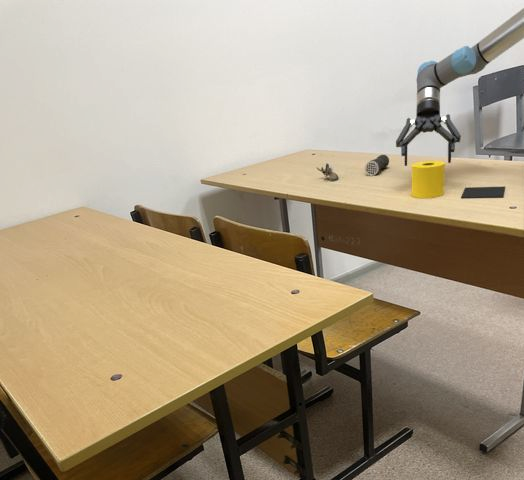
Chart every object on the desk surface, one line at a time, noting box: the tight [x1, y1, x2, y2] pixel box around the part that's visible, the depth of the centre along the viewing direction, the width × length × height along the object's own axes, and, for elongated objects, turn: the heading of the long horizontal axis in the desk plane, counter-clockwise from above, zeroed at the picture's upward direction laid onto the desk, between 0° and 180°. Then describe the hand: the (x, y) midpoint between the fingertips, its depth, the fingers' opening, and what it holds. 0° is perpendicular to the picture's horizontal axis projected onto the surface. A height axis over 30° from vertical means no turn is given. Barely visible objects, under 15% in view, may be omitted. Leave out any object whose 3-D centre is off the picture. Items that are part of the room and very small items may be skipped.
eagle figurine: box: [316, 163, 339, 182], centre depth 209 cm, size 8×7×9 cm
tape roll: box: [411, 160, 446, 199], centre depth 171 cm, size 10×10×9 cm
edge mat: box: [460, 186, 506, 199], centre depth 166 cm, size 12×12×1 cm
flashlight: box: [364, 154, 390, 177], centre depth 211 cm, size 15×5×5 cm, turn 152°
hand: (427, 162), depth 172 cm, fingers open, 13 cm apart
